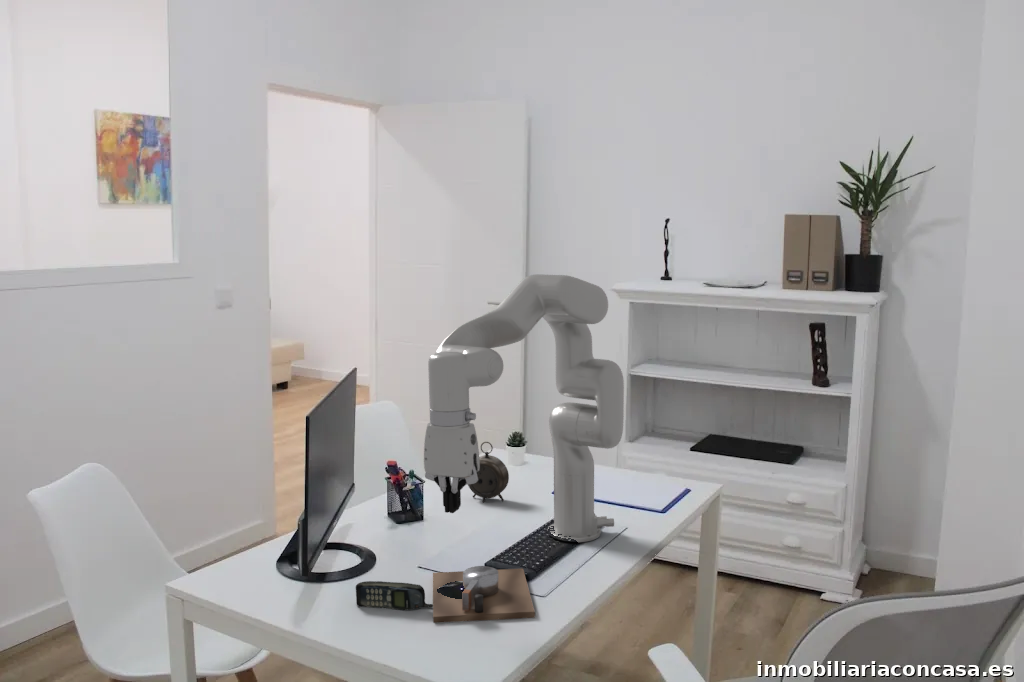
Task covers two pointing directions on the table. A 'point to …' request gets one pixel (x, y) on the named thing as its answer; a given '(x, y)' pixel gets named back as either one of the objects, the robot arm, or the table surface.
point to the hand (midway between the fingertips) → (452, 510)
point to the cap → (478, 584)
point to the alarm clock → (490, 477)
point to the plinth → (485, 599)
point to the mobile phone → (390, 595)
